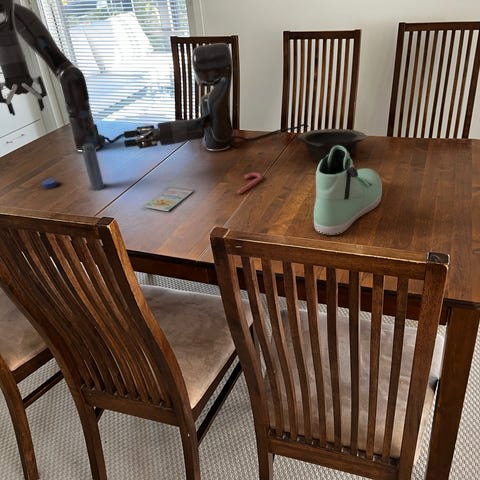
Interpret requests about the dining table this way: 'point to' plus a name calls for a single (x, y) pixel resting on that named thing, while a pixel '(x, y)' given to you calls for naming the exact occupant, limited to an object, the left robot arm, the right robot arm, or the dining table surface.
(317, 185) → the sneaker
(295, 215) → the dining table surface
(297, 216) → the dining table surface
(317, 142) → the stone bowl
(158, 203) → the baking ingredient package
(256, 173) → the candy cane
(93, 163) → the jar
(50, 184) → the lid
